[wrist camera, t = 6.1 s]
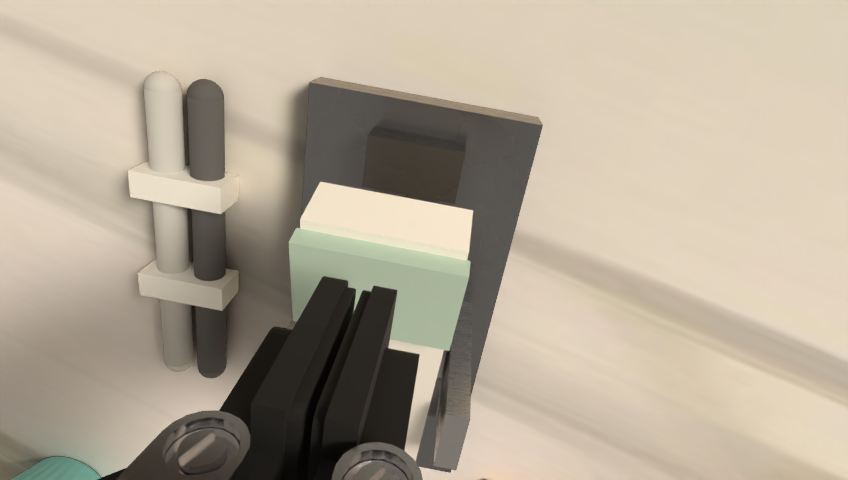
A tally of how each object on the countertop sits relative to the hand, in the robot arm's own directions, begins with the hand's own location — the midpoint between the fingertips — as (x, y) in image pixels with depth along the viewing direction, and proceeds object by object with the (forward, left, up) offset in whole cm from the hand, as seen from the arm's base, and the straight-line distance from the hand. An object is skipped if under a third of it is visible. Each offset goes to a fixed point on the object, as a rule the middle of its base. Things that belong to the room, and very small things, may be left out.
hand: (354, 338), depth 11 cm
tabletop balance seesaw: (0, +6, -12) cm, 13 cm away
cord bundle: (+9, +5, -12) cm, 16 cm away
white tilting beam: (0, +6, -5) cm, 8 cm away
